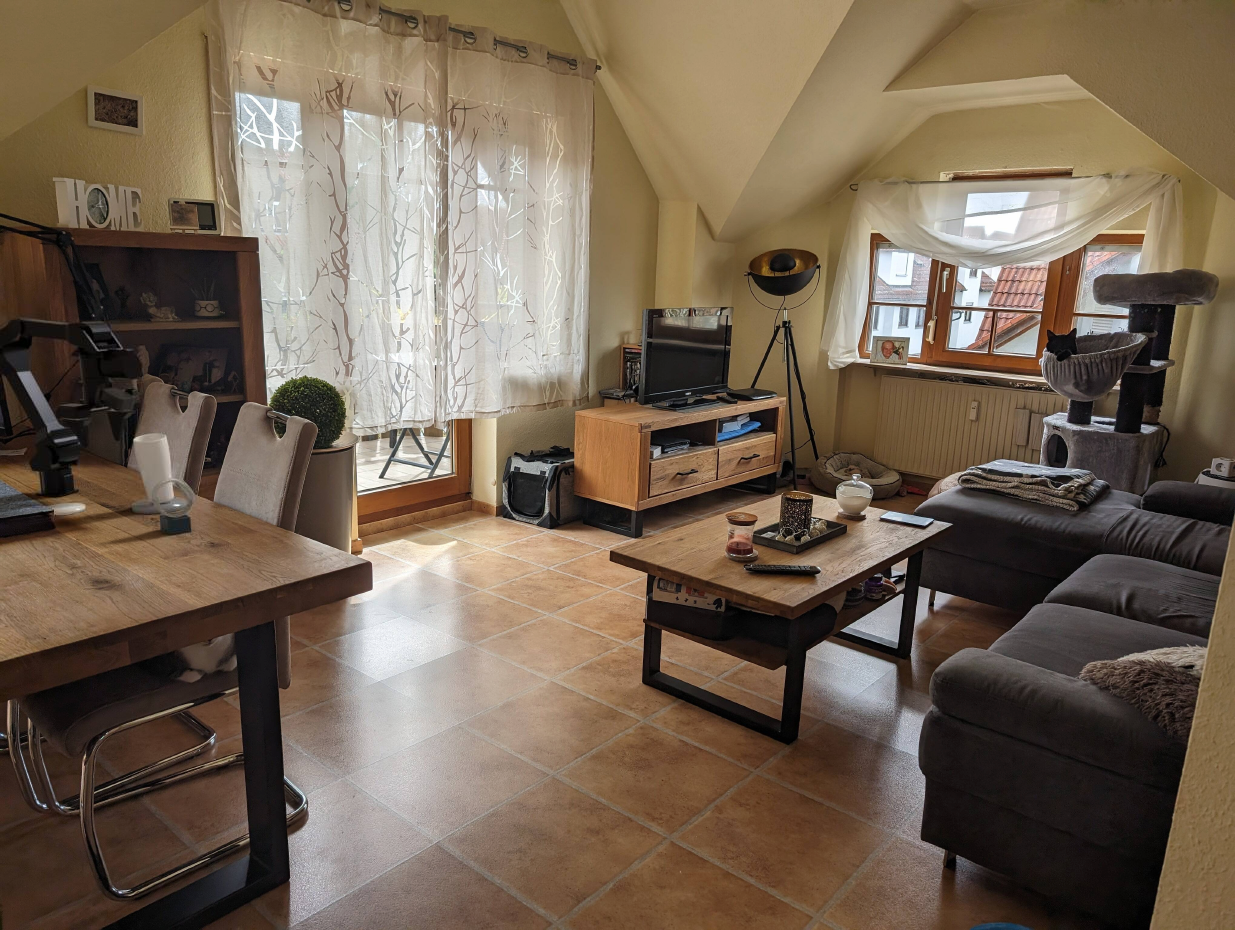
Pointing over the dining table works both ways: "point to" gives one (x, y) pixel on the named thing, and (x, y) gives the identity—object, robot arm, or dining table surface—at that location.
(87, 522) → the dining table surface
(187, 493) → the grey ring on block
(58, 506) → the cream coaster
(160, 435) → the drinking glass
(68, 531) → the dining table surface
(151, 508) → the slate saucer
